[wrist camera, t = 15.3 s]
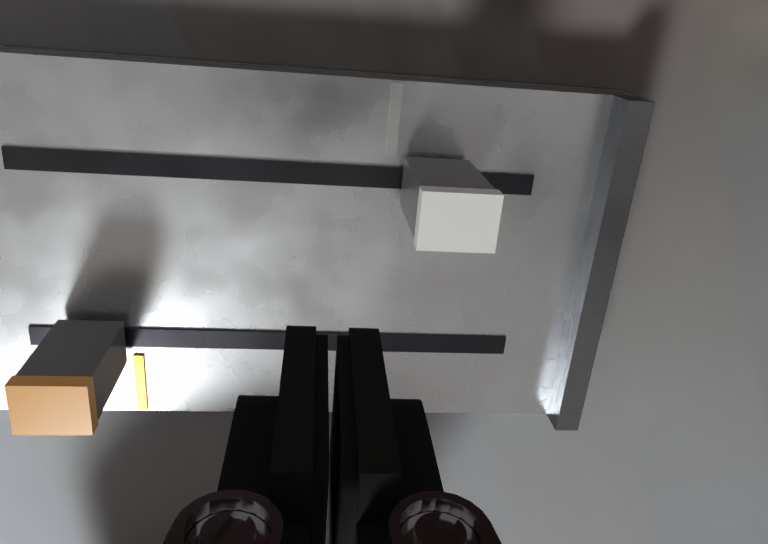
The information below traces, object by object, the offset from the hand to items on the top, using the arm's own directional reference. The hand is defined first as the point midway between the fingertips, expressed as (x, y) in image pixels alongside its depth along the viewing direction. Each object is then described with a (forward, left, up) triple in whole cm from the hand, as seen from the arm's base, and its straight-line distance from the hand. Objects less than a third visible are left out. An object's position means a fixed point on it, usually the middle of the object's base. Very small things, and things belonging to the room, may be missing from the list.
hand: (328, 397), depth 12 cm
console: (+1, +3, -16) cm, 16 cm away
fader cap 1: (+9, +6, -13) cm, 17 cm away
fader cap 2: (-4, -1, -13) cm, 14 cm away
